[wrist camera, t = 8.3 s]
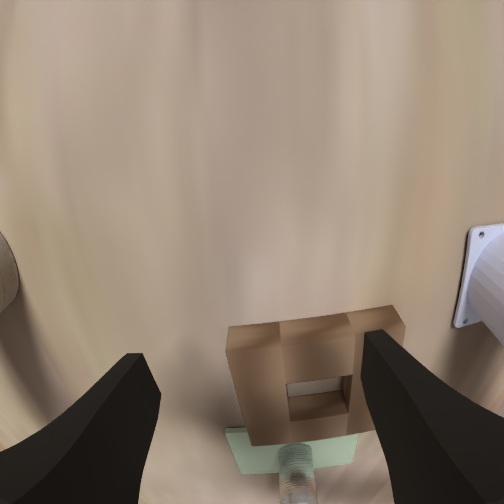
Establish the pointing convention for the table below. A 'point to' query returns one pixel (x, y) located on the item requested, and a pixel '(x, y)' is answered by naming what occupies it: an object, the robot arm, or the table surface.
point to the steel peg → (296, 474)
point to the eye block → (305, 374)
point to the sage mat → (267, 456)
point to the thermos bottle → (7, 275)
